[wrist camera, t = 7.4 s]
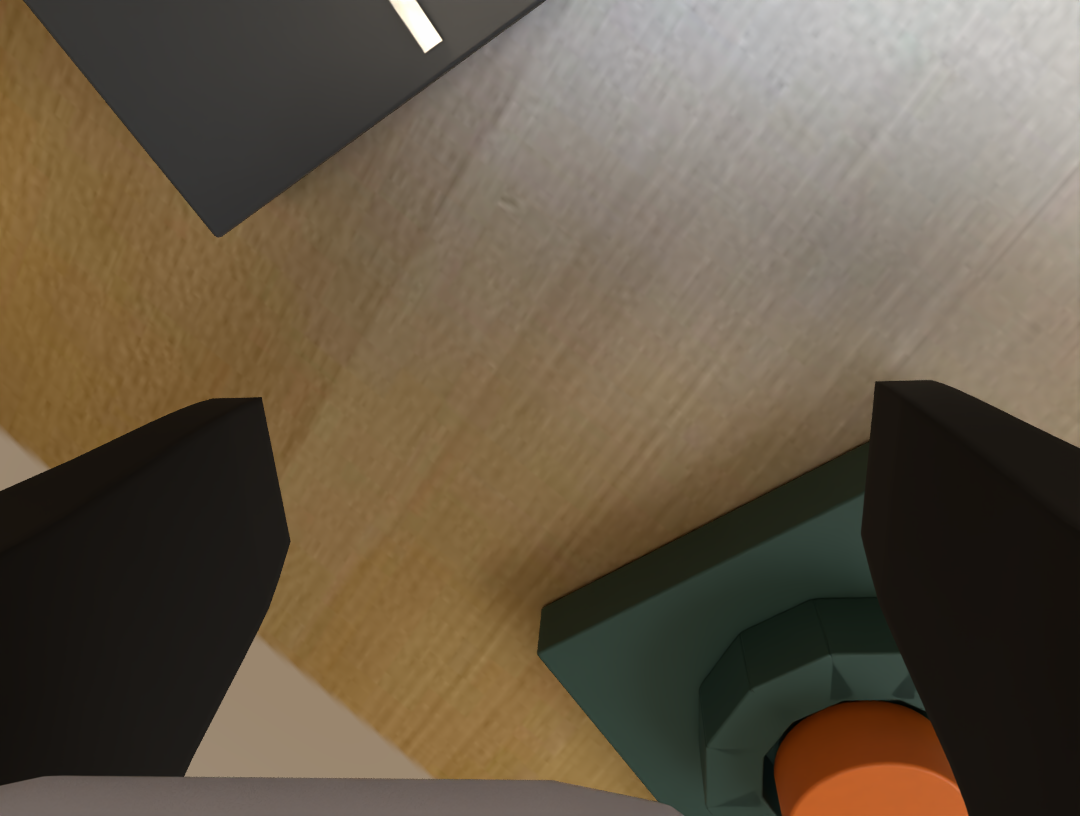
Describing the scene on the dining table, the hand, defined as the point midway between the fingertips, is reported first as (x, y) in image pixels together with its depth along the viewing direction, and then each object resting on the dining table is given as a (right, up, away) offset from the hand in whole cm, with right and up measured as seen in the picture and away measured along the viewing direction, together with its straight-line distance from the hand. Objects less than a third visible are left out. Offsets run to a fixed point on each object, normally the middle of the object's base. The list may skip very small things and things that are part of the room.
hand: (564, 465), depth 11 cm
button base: (+7, -5, +12) cm, 15 cm away
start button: (+6, -7, +9) cm, 13 cm away
